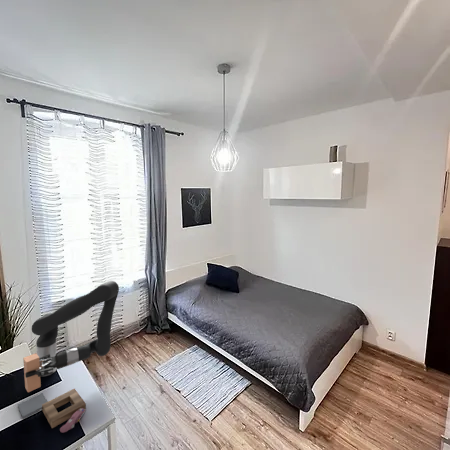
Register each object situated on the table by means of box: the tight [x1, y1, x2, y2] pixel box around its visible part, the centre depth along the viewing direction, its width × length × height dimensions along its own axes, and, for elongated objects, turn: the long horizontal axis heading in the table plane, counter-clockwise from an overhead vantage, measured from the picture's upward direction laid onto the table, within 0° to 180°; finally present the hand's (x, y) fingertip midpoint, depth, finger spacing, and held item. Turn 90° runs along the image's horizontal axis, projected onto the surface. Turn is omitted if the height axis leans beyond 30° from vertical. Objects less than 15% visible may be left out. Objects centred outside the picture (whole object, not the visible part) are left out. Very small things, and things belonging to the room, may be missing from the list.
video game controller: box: [59, 408, 86, 434], centre depth 113 cm, size 10×5×7 cm, turn 169°
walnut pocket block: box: [41, 388, 87, 429], centre depth 120 cm, size 14×14×3 cm
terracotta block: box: [23, 352, 42, 393], centre depth 120 cm, size 5×5×15 cm
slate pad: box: [17, 392, 49, 419], centre depth 122 cm, size 10×10×1 cm
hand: (25, 371), depth 118 cm, fingers closed on terracotta block, 5 cm apart
